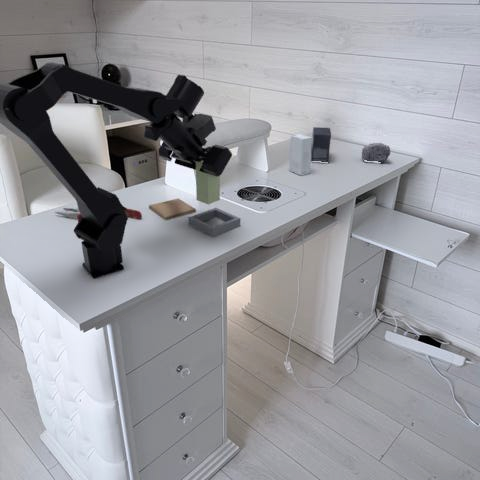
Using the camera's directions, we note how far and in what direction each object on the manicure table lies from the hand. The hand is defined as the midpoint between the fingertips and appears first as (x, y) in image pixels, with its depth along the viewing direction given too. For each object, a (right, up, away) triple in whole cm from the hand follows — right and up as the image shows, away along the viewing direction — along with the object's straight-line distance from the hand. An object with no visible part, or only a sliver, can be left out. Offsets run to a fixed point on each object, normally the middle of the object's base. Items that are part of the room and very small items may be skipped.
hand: (211, 172), depth 105 cm
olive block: (-1, -6, +2) cm, 7 cm away
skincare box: (+26, +6, +41) cm, 49 cm away
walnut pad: (-11, -8, +11) cm, 18 cm away
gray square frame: (0, -12, +3) cm, 13 cm away
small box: (+36, +13, +55) cm, 67 cm away
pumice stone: (+56, +12, +55) cm, 79 cm away
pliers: (-28, -11, +6) cm, 31 cm away
